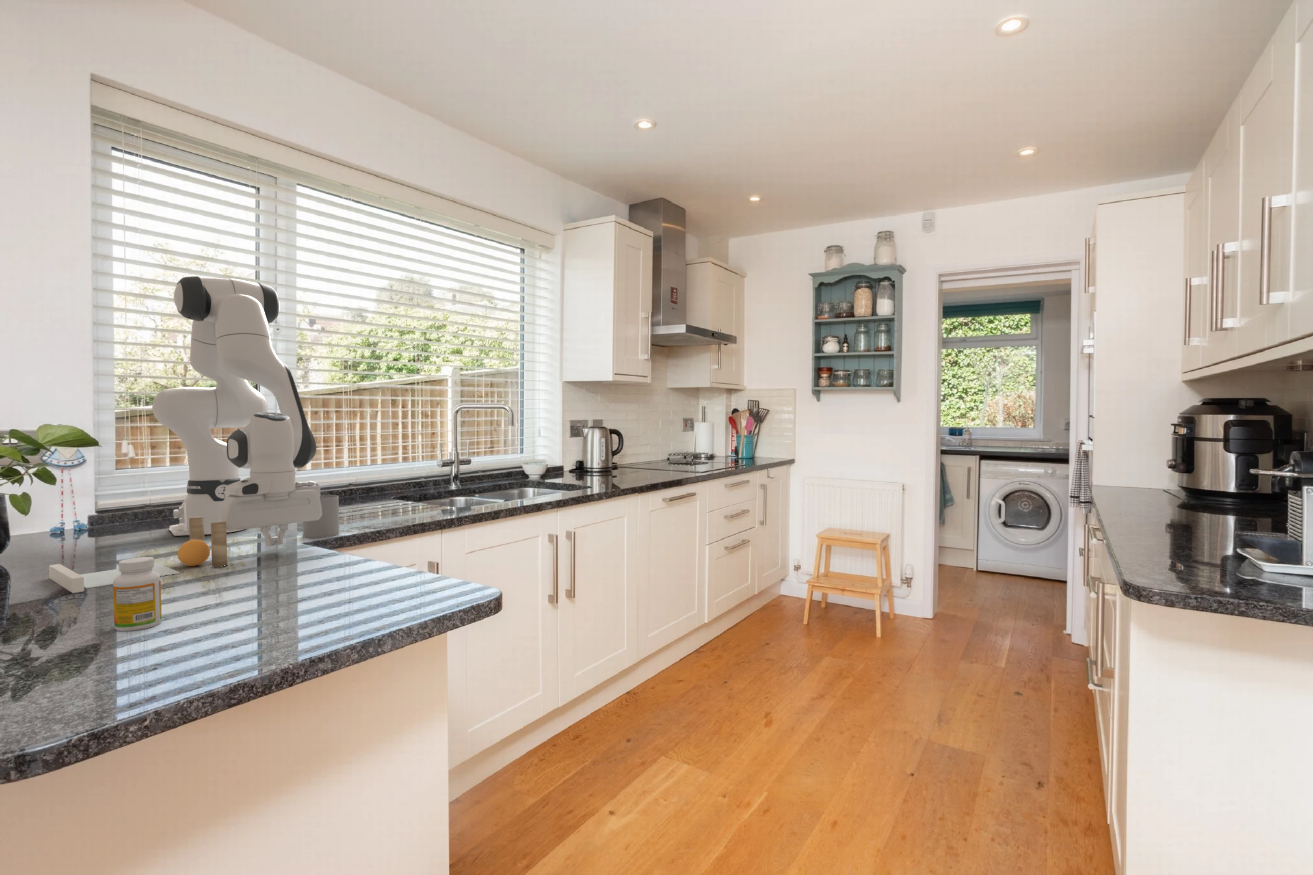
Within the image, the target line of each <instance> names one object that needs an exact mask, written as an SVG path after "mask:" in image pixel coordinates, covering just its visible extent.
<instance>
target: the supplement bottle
mask: <svg viewBox="0 0 1313 875" xmlns="http://www.w3.org/2000/svg"><path fill="white" fill-rule="evenodd" d="M154 564H155V558H154V556H153V557H152V556H140V557H139V556H138V557H132V558H125V559H123V560H119V561H118V569H119V572H121V575H120V576H118V577H116V578H115V579H114V581H113V584H112V594H113V595H112V596H113V597H112V598H113V600H112V601H113V603H112V604H113V625H114V626H113V627H114V629H115V630H116V631H118V632H132V631H140V630H145V629H150V628H152V627H155V626H157V625H159V624H160V623H161V622H162V620H163V619H162V618H163V617H162V616H163V615H162V588H161V587H162V586H161V585H162V584H161V583H162V582H161V577H160V575H159V573H157V572H155V571H152V568H154Z"/></svg>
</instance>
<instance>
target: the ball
mask: <svg viewBox="0 0 1313 875" xmlns="http://www.w3.org/2000/svg"><path fill="white" fill-rule="evenodd" d="M210 554H211V549H210V546H209V544H208V543H206V541H205V540H204V541H201V540H190V539H189V540H187V541H185V542H184V543H183V544H181V545H180V547H179V548H178V550H177V557H178V560H179V561H180V563H181V564H183V565H185V566H188V567H196V565H197V566H199V565H202V564H204V563H205V562H207V560H208V559H209V557H210Z"/></svg>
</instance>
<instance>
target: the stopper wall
mask: <svg viewBox="0 0 1313 875" xmlns="http://www.w3.org/2000/svg"><path fill="white" fill-rule="evenodd" d="M48 570H49V571H48V572H49V579H50V580H51V581H53V582H55V583H56V584H58V585H59V586H61V587H62V588H64V589H65V590H67V591H69V592H70V593H71V594H75V593H83V592H85V587H84V577H82V576H81V574H79V573H77V572H75V571H73V570H72V569H69V568H68V567H66V566H65V565H62V564H61V563H56V564H49V565H48Z"/></svg>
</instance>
